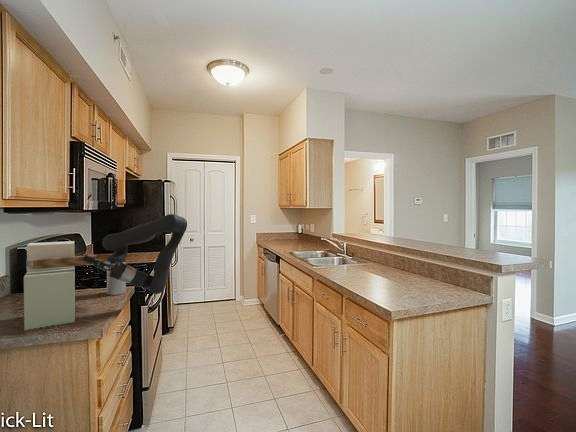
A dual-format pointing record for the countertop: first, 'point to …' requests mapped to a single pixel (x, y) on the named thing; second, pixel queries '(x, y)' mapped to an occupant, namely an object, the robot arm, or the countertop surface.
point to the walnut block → (57, 262)
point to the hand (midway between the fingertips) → (84, 257)
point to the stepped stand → (49, 287)
